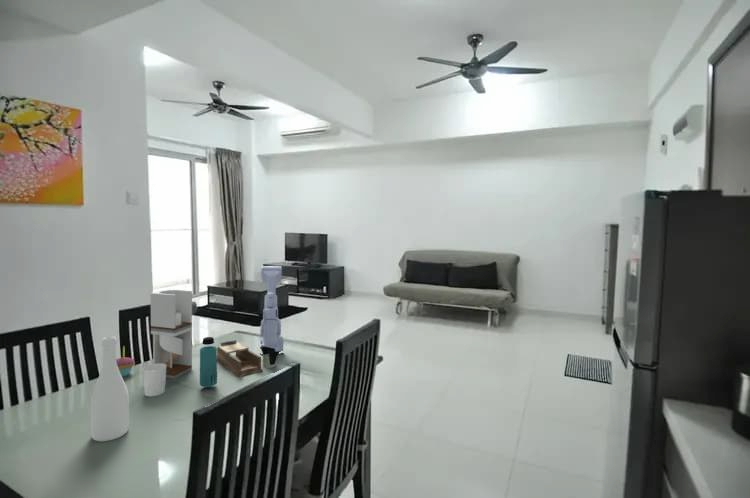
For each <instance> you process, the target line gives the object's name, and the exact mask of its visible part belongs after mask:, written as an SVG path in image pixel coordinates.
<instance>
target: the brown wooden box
mask: <svg viewBox="0 0 750 498" xmlns="http://www.w3.org/2000/svg"><path fill="white" fill-rule="evenodd" d="M216 348H217V364H219V365H221V366H222V367H223V368H225V369H226V370H228V371H229V372H230V373H232V374H233V375H234V376H236V377H237V378H241V377H244V376H248V375H252V374H255V373H256V374H257V373H260V372H263V370H264V369H263V368H262V356H261V355H260V354H256V353H255V352H253V351H251V350H250V349H248V350H243V351H239V352H235V354H234V355H232V354H231V353H229V354H227V353H225V352H224V351H222V350H221V349H219V348H218V347H216ZM259 371H260V372H259Z"/></svg>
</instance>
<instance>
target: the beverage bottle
mask: <svg viewBox="0 0 750 498" xmlns="http://www.w3.org/2000/svg"><path fill="white" fill-rule="evenodd" d="M214 338H215V337H213V336H207V337H203V338H202V344H203V346H202V347H201V348H200V349H199V385H200V387H203V388H210V387H214V386H216V385H217V383H218V362H217V348H218V347H216V346H215V345H214V343H215V339H214Z"/></svg>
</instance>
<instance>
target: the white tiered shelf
mask: <svg viewBox="0 0 750 498" xmlns="http://www.w3.org/2000/svg"><path fill="white" fill-rule="evenodd" d="M150 334H151V335H152V350H153V352H152V362H153V363H152V364H157V363H162V364H166V379H174V380H175V379H176V378H179V377H180V376H183V375H185V374H187V373H189V372H190V371H192V370H193V291H192V290H185V289H184V290H183V289H173V288H172V289H171V288H169V289H165V290H160V291H153V292H150Z"/></svg>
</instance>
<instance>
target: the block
mask: <svg viewBox="0 0 750 498" xmlns="http://www.w3.org/2000/svg"><path fill="white" fill-rule="evenodd" d="M263 365H264V366H263ZM262 366H263V367H265V368H266V367H267V368H266V369H271V368H274V366H275V367H277V366H278V357H277V358H276V362H275V364H273V365H270V359H269V354H265V355H262ZM270 367H271V368H270Z"/></svg>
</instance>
